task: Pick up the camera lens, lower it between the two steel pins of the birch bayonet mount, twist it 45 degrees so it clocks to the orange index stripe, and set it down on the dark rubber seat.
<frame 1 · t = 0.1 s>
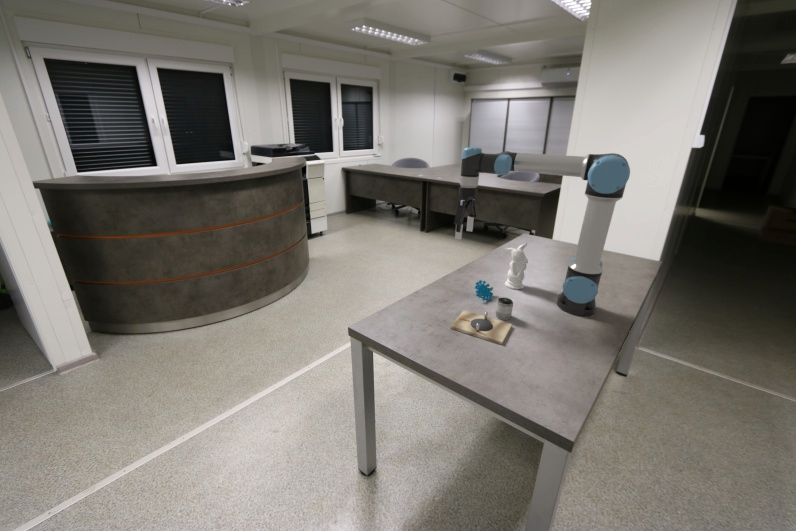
hand: (464, 234, 154), 28 cm above the table, fingers open, 13 cm apart
mount: (481, 327, 136), on the table
seat: (481, 324, 136), on the mount, point 1 cm above the table
camera lens: (502, 317, 145), on the table
gear: (483, 298, 160), on the table
pins: (481, 321, 135), on the mount, point 3 cm above the table
white statue: (510, 284, 173), on the table
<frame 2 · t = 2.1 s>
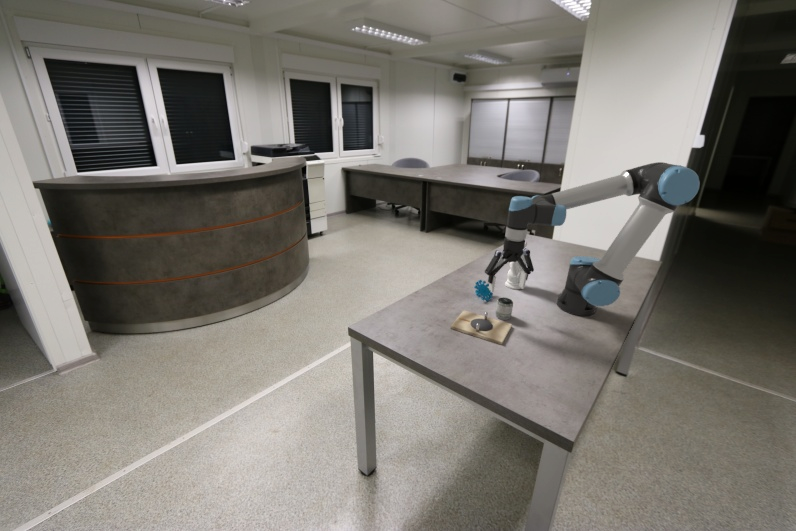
hand: (506, 288, 140), 13 cm above the table, fingers open, 13 cm apart
nothing on the table moved.
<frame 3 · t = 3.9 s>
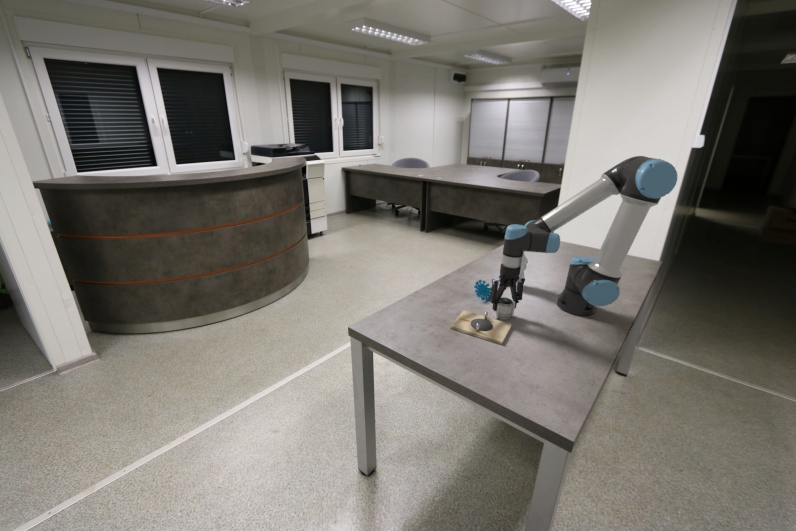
hand: (502, 315, 144), 0 cm above the table, fingers closed on camera lens, 6 cm apart
camera lens: (502, 316, 145), on the table, touching gripper
everything else where it was.
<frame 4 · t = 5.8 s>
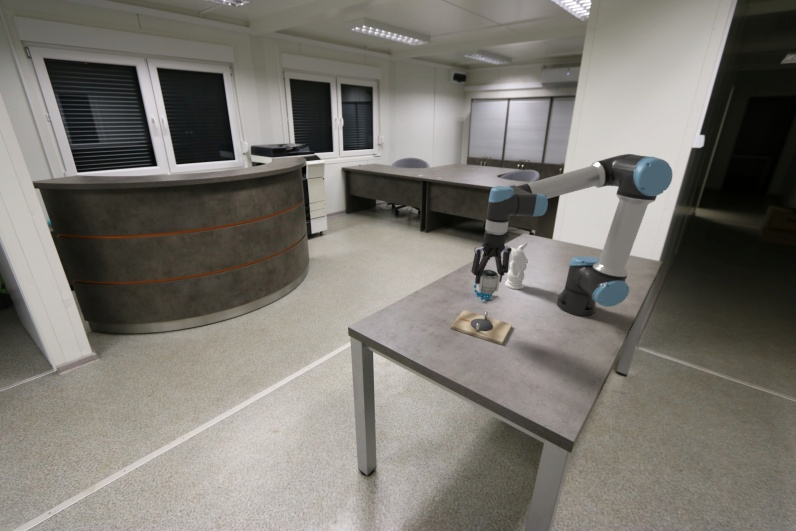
hand: (486, 290, 131), 16 cm above the table, fingers closed on camera lens, 6 cm apart
camera lens: (486, 291, 132), point 15 cm above the table, touching gripper
everything else where it was.
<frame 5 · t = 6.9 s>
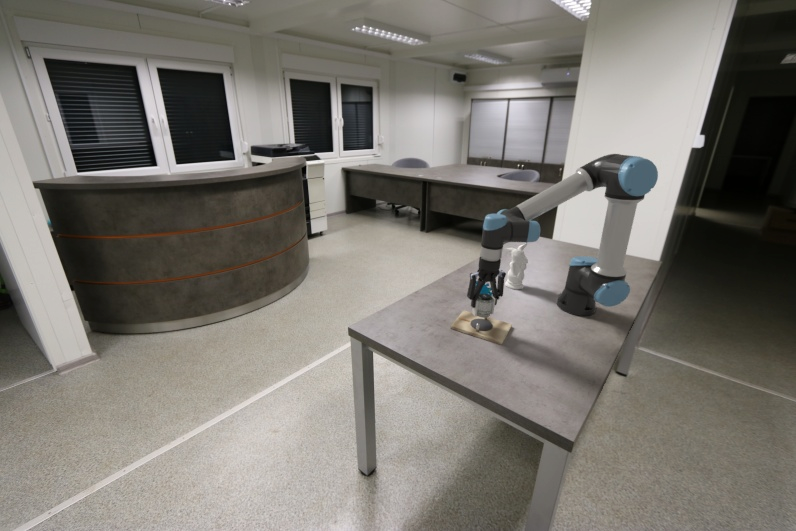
hand: (482, 313, 134), 6 cm above the table, fingers closed on camera lens, 6 cm apart
camera lens: (482, 314, 134), point 6 cm above the table, touching gripper
everything else where it was.
when the fingers open (3 cm above the table, at t = 7.9 s): camera lens stays where it is, resting on seat.
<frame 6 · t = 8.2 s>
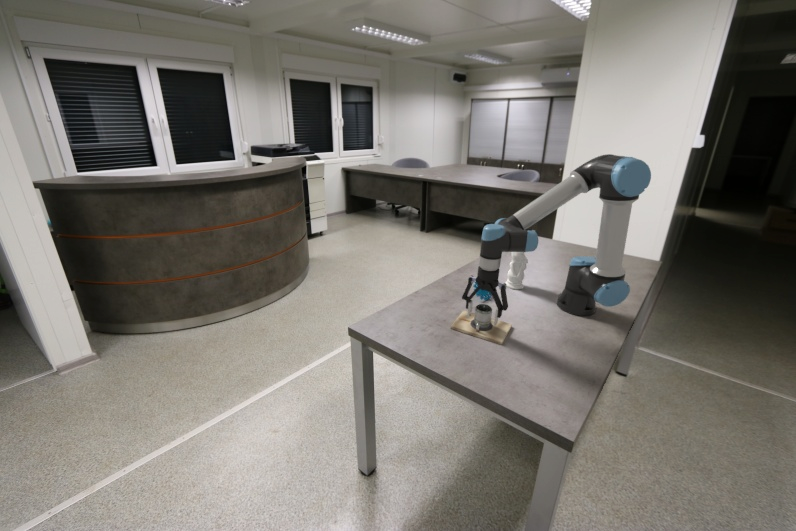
hand: (482, 319, 135), 3 cm above the table, fingers open, 10 cm apart
camera lens: (481, 324, 136), point 1 cm above the table, touching seat
everything else where it was.
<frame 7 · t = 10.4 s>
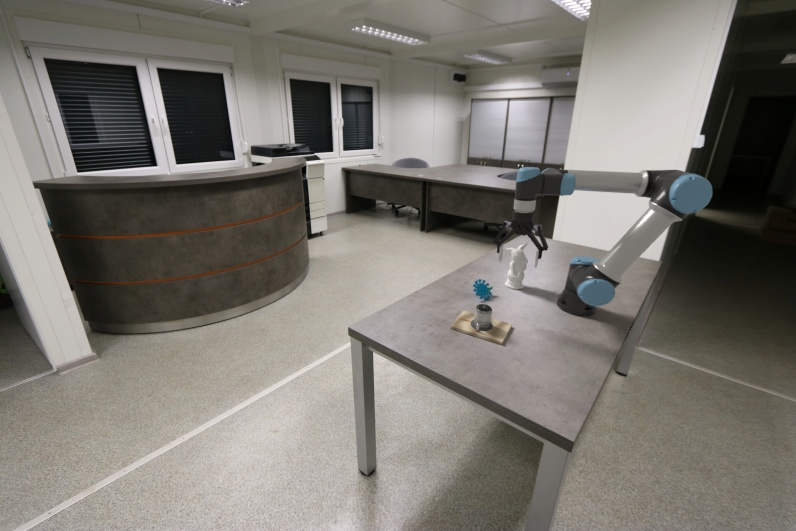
hand: (517, 263, 138), 23 cm above the table, fingers open, 13 cm apart
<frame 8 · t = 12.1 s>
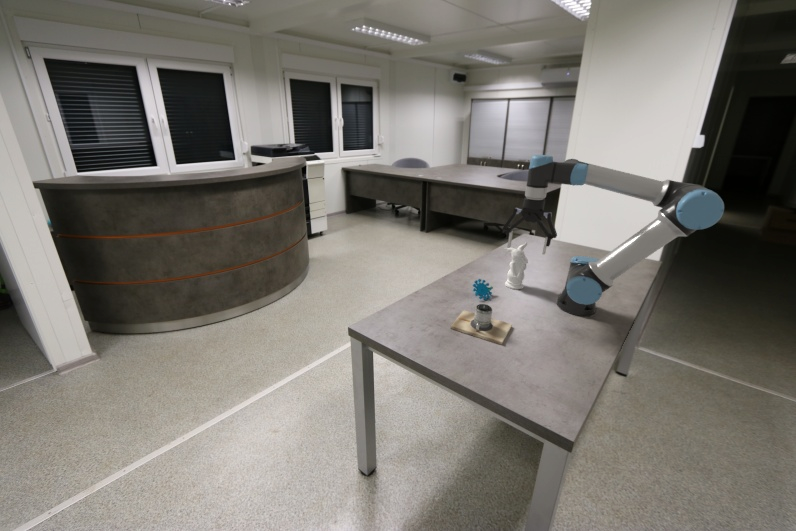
hand: (525, 250, 141), 27 cm above the table, fingers open, 13 cm apart
at the end: camera lens 0.1 cm off-centre on the mount, point 1.3 cm above the mount's base; camera lens tilted 0°; the gripper is holding nothing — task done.
